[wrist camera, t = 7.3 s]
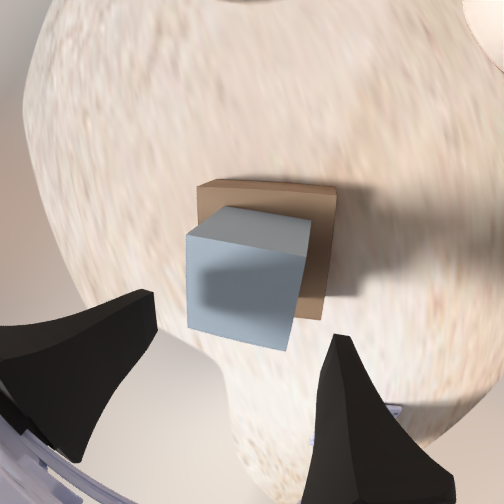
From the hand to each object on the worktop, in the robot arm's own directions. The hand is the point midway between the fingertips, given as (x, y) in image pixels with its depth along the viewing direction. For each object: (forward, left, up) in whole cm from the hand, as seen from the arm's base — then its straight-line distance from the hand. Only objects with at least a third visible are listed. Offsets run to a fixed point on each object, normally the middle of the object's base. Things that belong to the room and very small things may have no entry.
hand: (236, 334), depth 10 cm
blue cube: (0, +1, -7) cm, 7 cm away
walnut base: (0, +1, -11) cm, 11 cm away
